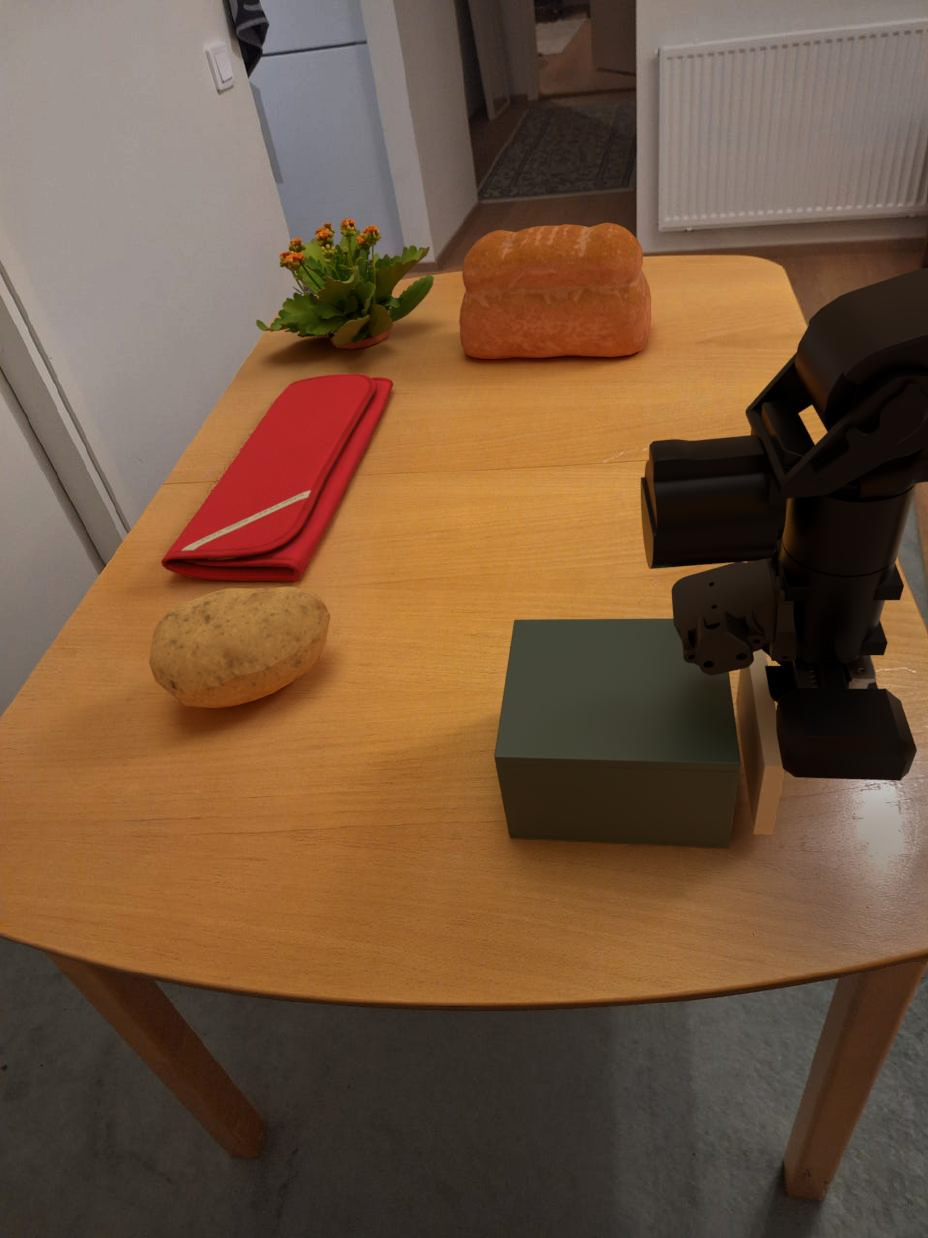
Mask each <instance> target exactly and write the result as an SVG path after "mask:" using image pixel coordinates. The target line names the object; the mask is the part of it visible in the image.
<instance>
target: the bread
mask: <svg viewBox="0 0 928 1238" xmlns="http://www.w3.org/2000/svg"><path fill="white" fill-rule="evenodd" d="M643 264H644V254H643V247H642V245H641V243H640V241H639V239H638V238H637V237H636V236H635V235H634V234H632V232H631V231H630V230H629V229H627V228H626V227H624V226H622V225H620V224H616V223H611V222H602V223H600V224H597V225H593V226H585V225H579V224H568V223H567V224H566V223H565V224H560V225H537V226H532V227H528V228H524V229H521V230H519V231H510V230H504V229H498V230H494V231H490V232H489V233H487V234H484V236H482V237H480V238H479V239H478V240H477V241H476V242H475V243H474V245H472V246H471V248H470V249H469V251H468V252H467V254H466V256H465V257H464V259H463V264H462V282H463V286H464V289H465V291H464V294H463V298H462V301H461V304H460V309H459V319H458V324H459V339H460V343H461V347H462V349H463V350H464V352H465V354H466V355H467V356H469V357H471V358H473V359H481V360H482V359H483V360H503V359H511V358H533V359H534V358H535V359H536V358H537V359H539V358H540V359H541V358H542V359H543V358H544V359H545V358H554V357H565V356H569V357H570V356H575V357H606V358H607V357H608V358H613V357H622V356H630V355H633V354H636V353H638V352H640V351H642V350H643V349H644V347H645V345H646V344H647V341H648V338H649V333H650V328H651V323H652V296H651V295H652V294H651V287H650V285H649V282H648V280H647V277H646V275H645V274H644V271H643V270H642V267H643Z"/></svg>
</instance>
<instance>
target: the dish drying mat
mask: <svg viewBox="0 0 928 1238" xmlns="http://www.w3.org/2000/svg"><path fill="white" fill-rule="evenodd" d="M393 388H394V382H393V379H391V378H388V377H383V376H381V377H380V376H378V377H377V376H375V377H371V376H369V375H366V374H363V373H338V374H336V373H335V374H326V375H319V376H313V377H308V378H303V379H300V380H296V381H293V382H291V383H290V384H288V385H287V386H286V387H285V388H284V389H283V391H282V392H281V393H280V394H279V395H278V396H277V397H276V398H275V399H274V401H273V402H272V403H271V405H270V407H269V408H268V409H267V411H266V413H265V414H264V416H263V417H262V418H261V420H260V421H259V423H258V424H257V426H256V427H255V428H254V430H253V431H252V433H250V435H249V437H248V438H247V440H246V441H245V443H244V444H243V445H242V447H241V448H240V450H239V452H238V453H237V455H236V456H235V457H234V459H233V460H232V462H231V463H230V464H229V466H228V467H227V468H226V470H225V471H224V473H223V475H221V477H220V479H219V480H218V481H217V483H216V484H215V486H214V487H213V488H212V490H211V491H210V493H209V494H208V495H207V497H206V498H205V500H204V501H203V503H202V504H201V505H200V507H199V508H198V509H197V511H196V512H195V513H194V515H193V516H192V518H191V519H190V520H189V522H188V523H187V524H186V526H185V527H184V529H183V530H182V531H181V532H180V534H179V536H178V537H177V538H176V540H175V541H174V542H173V543H172V545H171V547H170V548H169V549H168V550H167V552H166V554H165V555H164V556H163V558H162V559H161V560H160V564H161V565H162V567H163V568H165V569H166V570H168V571H170V572H172V573H173V574H178V575H182V576H183V577H184V576H185V577H189V578H193V579H200V580H208V581H209V580H210V581H243V582H244V581H250V582H251V581H253V582H254V581H255V582H256V581H257V582H258V581H259V582H260V581H261V582H288V583H289V582H296V581H298V580H299V579H300V578H301V576H302V575H303V573H304V572H305V570H306V568H307V566H308V564H309V563H310V560H311V558H312V557H313V555H314V553H315V552H316V550H317V548H318V546H319V544H320V542H321V540H322V539H323V536H325V533H326V531H327V529H328V527H329V525H330V523H331V522H332V519H333V517H334V515H335V513H336V511H337V509H338V507H339V505H340V504H341V501H342V499H343V497H344V495H345V493H346V491H347V489H348V486H349V484H350V482H351V479H352V477H353V475H354V473H355V472H356V470H357V467H358V466H359V463H360V462H361V460H362V457H363V455H364V453H365V451H366V450H367V447H368V445H369V443H370V441H371V440H372V436H373V435H374V432H375V430H376V427H377V426H378V424H379V422H380V420H381V417H382V416H383V413H384V410H385V407H386V405H387V402H388V399H389V397H390V394H391V392H392V389H393Z"/></svg>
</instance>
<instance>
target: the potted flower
mask: <svg viewBox="0 0 928 1238" xmlns="http://www.w3.org/2000/svg"><path fill="white" fill-rule="evenodd" d="M339 224H340V229H339V230H340V231H339V232H340V234H341V235H342V236H341V238H340V241H339V242H338V243H339V244H338V243H336V245H335V240H334V236H335V233H336V230H335V229H334V228H333V227H332V222H323V223H321V225H319V227H318V229H316V230H315V232H314V235H315V237H313V238H312V239H310V242H302V238H300V237H295V238H291V239H290V241H289V244H288V251H286V250H285V251H283V252H281V253H280V254H279V255H278V257H279V260H280V261H279V267H280V268H286V269H287V270H288V271H290V272H291V274H292V277H293V278H294V280H295V282H296V284H297V285H298V287H299V288H300V289H298V288H296V287H295V286H292V288H293V289H294V290H295V291H296V292H295V291H294V292H293V294H292V298H290V297H286V299H285V301H283V303H282V304H281V307H282V309H280V310H278V312H277V313H278V317H275V319H273V322H271V323H270V326H269V327H268V326H267V325H266V324H265V323H264V322H263V321H262V320H260V319H256V321H255V326H257V328H258V329H259V330H261V331H262V332H267V331H269V332H271V333H273V332H279V331H284V333H292V334H297V336H298V337H300V338H312V337H313V338H314V337H322V336H325V337H327V336H328V337H329V340H330V343H332V346H334V347H336V348H337V349H345V350H356V349H362V348H367V347H371V346H374V345H376V344H379V343H381V342H382V341H384V340H386V339H387V338H388V337H389V336H390V335H391V332H392V327H393V326H394V325H393V324H394V322H397V321H400V320H401V319H403V318H405V317H407V316H408V315H409V314H411V313H412V312H413V311H414V310H415V309H416V308H417V307H418V306H419V305H420V304H421V303H422V302H423V300H424V299H425V298H426V297H427V296H428V294H429V293H430V291H431V289H432V288H433V286H434V281H435V277H434V276H433V275H431V274H428V275H426V276H422V277H420V278H418V280H414V282H413V283H412V284H410V285H408V286H407V287H406V289H404V290H403V291H402V292H401V294H399V296H398V297H394V296H393V291H394V289H395V288H396V286H397V285H398V283H399V282H400V281H401V280H402V279H403V278H404V277H405V276H406V274H408V272H409V271H410V270H412V269H413V268H414V267H415V266H416V265H417V264H418V263H420V262H421V261H422V260H423V259H425V257H427V256H428V255H429V251H430V249H431V248H430V246H427V247H422V246H420V247H419V248H418V249H417V246H416V245H413V244H411V245H409V247H407V246H406V245H405V246H404V247H403V249H402V253H401V256H400V254H399V255H398V254H396V255H394V256H393V257H392V259H391V257H390V255H389V254H388V253H385V254H384V255H383V257H382V258H381V257H380V254H379V252H378V251H377V252H375V251H374V250H375V249H374V248H375V247H374V246H377V242H379V241H380V240H381V239H382V235H380V234H381V232H380V229H379V227H378V226H376V225H375V224H371V225H369V226H366V227H364V230H363V232H361V230H360V229H357V226H356V221H355V220H354V219H352V218H351V219H350V218H345V219H344V220H342V221H341V222H340V223H339ZM322 225H323V226H322ZM370 254H371V261H370V259H369V258H370ZM369 265H370V266H369ZM300 282H301V283H302V284H303V285H304V286H305V287H307V288H308V290H305V289H304V287H303V285H302V284H301V283H300ZM300 290H301V291H300Z"/></svg>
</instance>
